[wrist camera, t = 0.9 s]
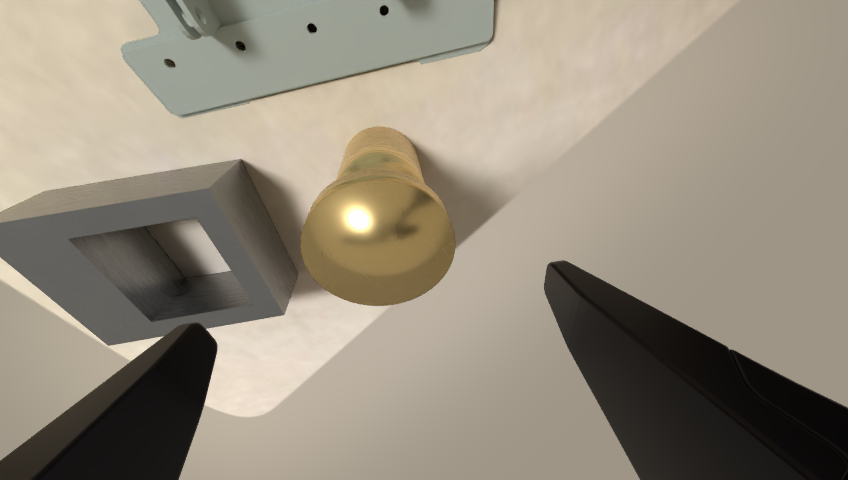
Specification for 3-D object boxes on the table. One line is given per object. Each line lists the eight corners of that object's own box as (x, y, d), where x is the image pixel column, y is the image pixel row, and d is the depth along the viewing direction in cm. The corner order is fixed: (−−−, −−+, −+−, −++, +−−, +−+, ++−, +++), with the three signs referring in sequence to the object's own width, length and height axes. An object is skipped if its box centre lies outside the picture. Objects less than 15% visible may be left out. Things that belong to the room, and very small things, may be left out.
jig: (240, 159, 15) (208, 188, 13) (298, 274, 20) (284, 314, 17) (43, 191, 15) (-35, 228, 12) (147, 300, 20) (108, 345, 17)
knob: (420, 108, 15) (449, 169, 8) (431, 197, 18) (459, 293, 11) (321, 124, 15) (273, 198, 8) (348, 211, 18) (329, 315, 11)
